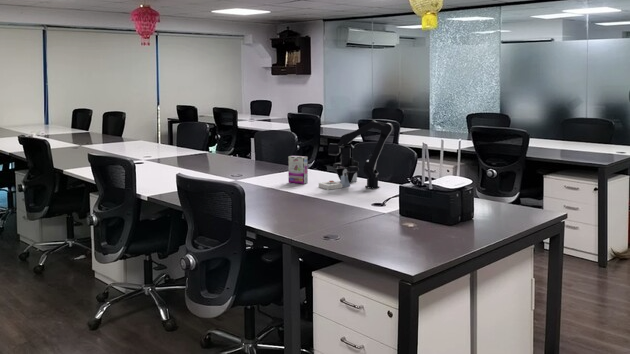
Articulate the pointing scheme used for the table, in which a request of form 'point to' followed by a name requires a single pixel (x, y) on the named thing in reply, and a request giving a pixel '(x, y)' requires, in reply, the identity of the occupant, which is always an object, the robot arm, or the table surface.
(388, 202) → the table surface
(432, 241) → the table surface
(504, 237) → the table surface
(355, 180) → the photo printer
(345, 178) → the plug
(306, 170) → the candy bar box
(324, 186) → the socket plate
